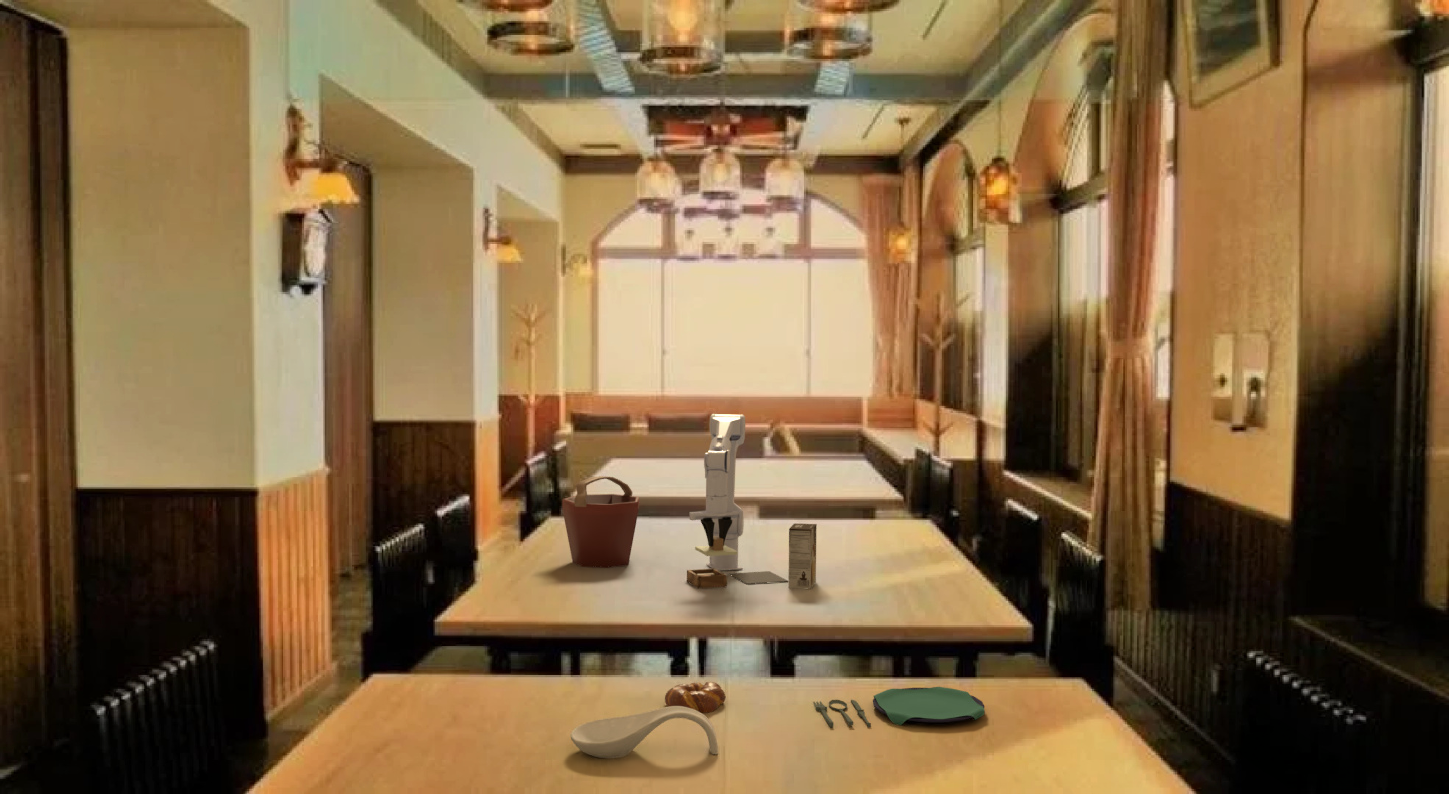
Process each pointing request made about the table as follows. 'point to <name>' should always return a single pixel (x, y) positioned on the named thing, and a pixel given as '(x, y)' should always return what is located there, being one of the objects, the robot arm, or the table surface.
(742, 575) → the mat
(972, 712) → the cutlery set
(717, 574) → the box
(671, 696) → the pretzel
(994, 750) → the table surface
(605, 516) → the bucket
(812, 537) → the coffee box
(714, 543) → the lid
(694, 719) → the spoon rest
